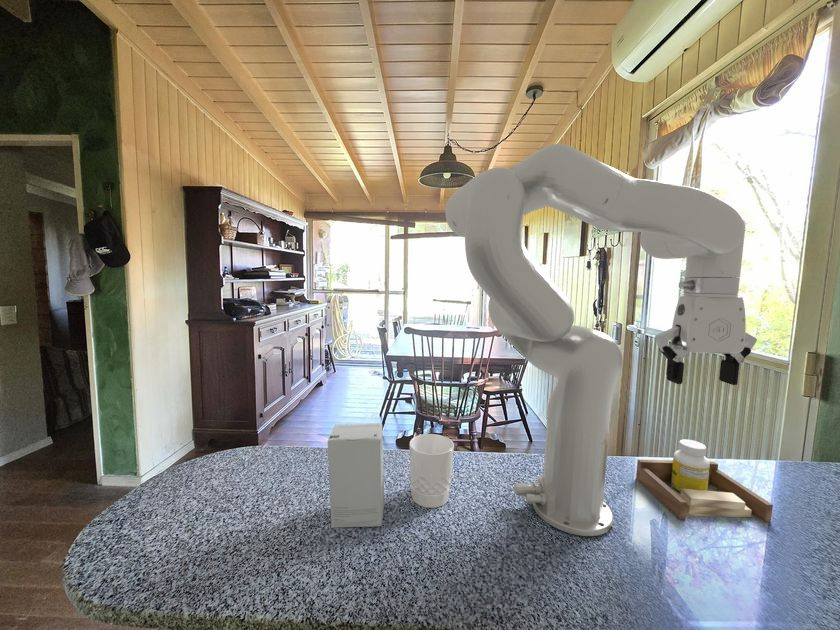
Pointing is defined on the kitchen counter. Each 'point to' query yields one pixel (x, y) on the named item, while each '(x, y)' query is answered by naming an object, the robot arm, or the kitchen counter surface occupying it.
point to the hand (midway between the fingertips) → (701, 382)
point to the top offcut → (712, 499)
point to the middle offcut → (718, 511)
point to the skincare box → (356, 475)
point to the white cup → (431, 469)
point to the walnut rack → (660, 472)
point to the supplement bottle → (690, 467)
